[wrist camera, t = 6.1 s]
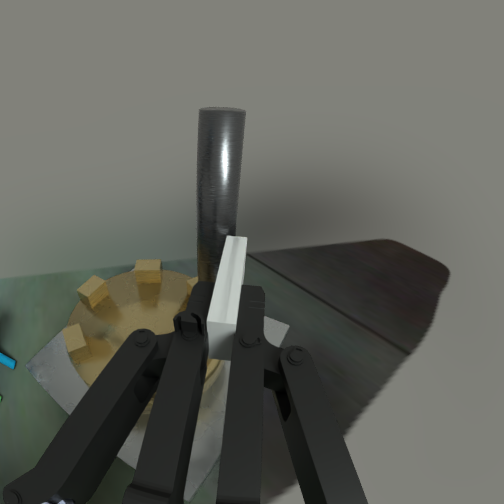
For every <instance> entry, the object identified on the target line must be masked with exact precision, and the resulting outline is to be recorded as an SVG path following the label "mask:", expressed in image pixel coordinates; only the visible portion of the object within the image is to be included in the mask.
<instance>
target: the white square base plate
mask: <svg viewBox="0 0 504 504" xmlns="http://www.w3.org/2000/svg"><path fill="white" fill-rule="evenodd" d="M134 269H135V268H134ZM134 269H133V270H131V271H134ZM131 271H130V272H131ZM65 328H67V326H66V327H65ZM65 328H64V329H65ZM288 330H289V325H287V324H284V323H281V322H279V321H276V320H274V319H271V318H268V317H266V316H264V335H265V338H266V339H267V340H268V342H270V343H271V344H272V345H275V346H277V347H281V345H282V343H283V341H284V339H285V337H286V335H287V333H288ZM230 363H231V361H226V360H225V361H224V364H223V367H222V369H221V372H220V374H219V376H218V377H217V378H216V380H215V381H214V383H213V384H212V385H211V386H210V387H209V389H208V390H207V391H206V392H204V393H203V394H202V398H201V403H200V408H199V413H198V419H197V424H196V429H195V435H194V440H193V446H192V451H191V457H190V463H189V468H188V474H187V480H186V486H185V492H184V499H185V500H187V501H189V502H191V501H192V499H193V498H194V496H195V495H196V493H197V492H198V490H199V489H200V487H201V486H202V484H203V482H204V481H205V479H206V478H207V476H208V475H209V473H210V472H211V470H212V468H213V467H214V465H215V464H216V462H217V460H218V459H219V457H220V456H221V448H222V438H223V428H224V419H225V409H226V400H227V390H228V381H229V372H230ZM25 366H26V368H27V369H28V370H29V371H30V373H31V374H32V375H33V376H34V377H35V379H36V380H37V381H38V382H39V383H40V384H41V386H42V387H43V388H44V389H45V390H46V391H47V392H48V393H49V395H50V396H51V397H52V398H53V399H54V400H55V401H56V402H57V403H58V404H59V405H60V406H61V407H62V408H63V409H64V410H65V411H66V412H67V413H68V414H69V415H70V414H71V413H72V411H73V410H74V409H75V407H76V406H77V404H78V403H79V402H80V400H81V399H82V397H83V396H84V395H85V393H86V392H87V391H88V389H89V388H88V386H87V385H86V384H85V383H84V381H83V380H82V378H81V377H80V376H79V374H78V373H77V371H76V370H75V368H74V367H73V365H72V363H71V361H70V358H69V356H68V353H67V348H66V343H65V339H64V335H63V331H61V332H60V333H59V334H57V335H56V336H55V337H54V338H53V339H52V340H51V341H50V342H49V343H48V344H47V345H46V346H45V347H44V348H43V349H42V350H40V351H39V352H38V353H37V354H36V355H35V356H34V357H33V358H32V359H31V360H30V361H29V362H28V363H27V364H26V365H25ZM149 416H150V414H141V416H140V418H139V419H138V421H137V423H136V424H135V426H134V428H133V429H132V431H131V433H130V434H129V436H128V437H127V439H126V441H125V442H124V444H123V446H122V447H121V449H120V451H119V452H118V454H117V456H118V457H119V458H120V459H122V460H123V461H124V462H126V463H127V464H128V465H130V466H131V467H133V468H134V469H136V466H137V462H138V458H139V454H140V450H141V446H142V442H143V438H144V434H145V431H146V427H147V423H148V420H149Z"/></svg>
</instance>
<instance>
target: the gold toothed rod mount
mask: <svg viewBox="0 0 504 504" xmlns="http://www.w3.org/2000/svg"><path fill="white" fill-rule="evenodd" d="M245 116H246V111H245V110H242V109H236V108H227V107H207V108H201V109H199V121H198V122H199V123H198V148H197V149H198V150H197V266H198V276H197V277H195V278H191V277H189V276H187V275H184V274H181V273H178V272H173V271H168V270H162V263H161V259H157V260H137V262H136V265H135V269H134V271H131V272H126V273H123V274H119V275H116V276H114V277H112V278H109V279H107V280H103V279H101V278H99V277H97V276H95V275H94V276H92V277H91V278H90V279H89V280H88V281H87V282H85V283H84V284H83V285H82V286H81V287H80V288H79V289H77V292H78V295H79V297H80V301H79V302H78V304H77V305H76V307H75V308H74V310H73V312H72V314H71V316H70V318H69V321H68V325H67V328H65V329H62V331H63V335H64V339H65V343H66V348H67V353H68V356H69V358H70V361H71V363H72V365H73V367H74V368H75V370H76V371H77V373H78V374H79V376H80V377H81V378H82V380H83V381H84V383H85V384H86V385H87V386H88V388H90V386H91V385H92V384H93V382H94V381H95V380H96V378H97V377H98V376H99V374H100V373H101V372H102V370H103V369H104V368H105V366H106V365H107V364H108V362H109V361H110V360H111V358H112V357H113V356H114V354H115V353H116V352H117V350H118V349H119V348H120V347H121V345H122V344H123V343H124V341H125V340H126V339H127V337H128V336H129V335H130V334H131V333H132V332H133V331H135V330H137V329H143V328H145V329H149V330H151V331H153V332H154V333H155V335H160V334H167V333H171V332H173V331H175V330H174V324H173V318H174V317H175V315H176V314H178V313H179V312H182V311H185V310H186V307H187V304H188V301H189V297H190V294H191V291H192V288H193V286H194V285H195V284H196V283H197V282H198V281H206V282H215V283H216V279H217V274H218V270H219V266H220V262H221V258H222V254H223V250H224V246H225V242H226V238H227V236H236V222H237V209H238V197H239V184H240V172H241V160H242V149H243V138H244V126H245ZM224 361H225V360H217V359H209V357H208V359H207V372H206V377H205V382H204V387H203V393H204V392H206V391H207V390H208V389H209V387H210V386H211V385H212V384H213V383H214V381H215V380H216V378H217V377H218V376H219V374H220V372H221V369H222V367H223V364H224ZM156 392H157V390H156ZM156 392H155V393H154V395H153V396H152V398H151V400H150V401H149V403H148V405H147V406H146V408H145V410H144V411H143V413H142V414H150V412H151V409H152V405H153V402H154V398H155V395H156ZM203 393H202V394H203Z"/></svg>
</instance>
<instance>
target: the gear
mask: <svg viewBox="0 0 504 504" xmlns="http://www.w3.org/2000/svg"><path fill="white" fill-rule="evenodd" d="M0 362H1V363H2V364H4V365H6V366H8V367H10V368H12V369H14V365H15V360H13V359H11V358H9V357H7V356H5V355H4V354H2V353H0ZM0 402H1V396H0Z"/></svg>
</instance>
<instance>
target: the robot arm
mask: <svg viewBox="0 0 504 504" xmlns="http://www.w3.org/2000/svg"><path fill="white" fill-rule="evenodd" d="M246 246H247V237H237V236H227V238H226V242H225V246H224V250H223V254H222V258H221V262H220V266H219V270H218V274H217V279H216V283H215V282H206V281H198V282H197V283H196V284H195V285H194V286H193V288H192V291H191V294H190V297H189V301H188V304H187V307H186V310H185V311H182V312H179V313H178V314H176V315H175V317H174V318H173V324H174V330H175V331H173V332H171V333H167V334H160V335H155V333H154V332H153V331H151V330H149V329H145V328H143V329H137V330H135V331H133V332H132V333H131V334H130V335H129V336H128V337H127V339H126V340H125V341H124V343H123V344H122V345H121V347H120V348H119V349H118V350H117V352H116V353H115V354H114V356H113V357H112V358H111V360H110V361H109V362H108V364H107V365H106V366H105V368H104V369H103V370H102V372H101V373H100V374H99V376H98V377H97V378H96V380H95V381H94V382H93V384H92V385H91V386H90V388H89V389H88V391H87V392H86V393H85V395H84V396H83V397H82V399H81V400H80V402H79V403H78V404H77V406H76V407H75V409H74V410H73V411H72V413H71V414H70V416H69V417H68V419H67V420H66V421H65V423H64V424H63V426H62V427H61V429H60V430H59V432H58V433H57V435H56V436H55V438H54V439H53V440H52V442H51V443H50V445H49V446H48V448H47V449H46V451H45V453H44V454H43V456H42V457H41V459H40V460H39V462H38V463H37V465H36V466H35V468H33V469H32V470H30V471H29V472H27V473H25V474H24V475H22V476H21V477H19V478H17V479H16V480H14V481H13V482H11V483H9V484H8V485H6V487H5V488H4V490H3V499H4V501H5V504H85V503H86V502H87V501H88V500H89V499H90V498H91V497H92V495H93V494H94V492H95V491H96V489H97V487H98V486H99V484H100V482H101V481H102V479H103V477H104V476H105V474H106V472H107V471H108V469H109V467H110V466H111V464H112V462H113V461H114V459H115V457H116V456H117V454H118V452H119V451H120V449H121V447H122V446H123V444H124V442H125V441H126V439H127V437H128V436H129V434H130V433H131V431H132V429H133V428H134V426H135V424H136V423H137V421H138V419H139V418H140V416H141V414H142V413H143V411H144V410H145V408H146V406H147V405H148V403H149V401H150V400H151V398H152V396H153V395H154V393H155V392H156V390H157V392H156V395H155V398H154V402H153V405H152V409H151V412H150V416H149V420H148V423H147V427H146V431H145V434H144V438H143V442H142V446H141V450H140V454H139V458H138V462H137V466H136V470H135V474H134V478H133V481H132V483H131V484H130V485H129V486H128V487H127V489H126V491H125V494H124V497H123V502H122V504H184V492H185V486H186V480H187V474H188V468H189V463H190V457H191V451H192V446H193V440H194V435H195V429H196V424H197V419H198V413H199V408H200V403H201V398H202V393H203V387H204V382H205V377H206V372H207V359H208V357H209V359H217V360H226V361H231V363H230V372H229V381H228V390H227V400H226V409H225V419H224V428H223V438H222V448H221V458H220V468H219V478H218V488H217V499H216V504H260V488H261V461H262V429H263V391H264V387H266V388H268V389H271V390H272V393H273V397H274V400H275V404H276V407H277V411H278V414H279V418H280V421H281V425H282V428H283V432H284V435H285V438H286V442H287V445H288V449H289V452H290V455H291V459H292V462H293V465H294V469H295V472H296V475H297V479H298V482H299V485H300V489H301V492H302V495H303V498H304V501H305V504H368V502H367V499H366V497H365V494H364V491H363V489H362V486H361V483H360V480H359V478H358V475H357V472H356V470H355V467H354V465H353V462H352V459H351V457H350V454H349V451H348V449H347V446H346V444H345V441H344V438H343V436H342V433H341V431H340V428H339V425H338V423H337V420H336V418H335V415H334V413H333V410H332V408H331V405H330V402H329V400H328V397H327V395H326V392H325V390H324V387H323V385H322V382H321V380H320V377H319V375H318V372H317V370H316V367H315V365H314V362H313V360H312V357H311V355H310V354H309V352H308V351H307V350H306V349H304V348H303V347H300V346H289V347H286V348H285V349H282V348H280V347H277V346H275V345H272V344H271V343H270V342H268V340H267V339H266V338H265V335H264V308H265V293H264V291H263V289H262V287H260V286H250V285H243V279H244V269H245V257H246Z"/></svg>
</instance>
